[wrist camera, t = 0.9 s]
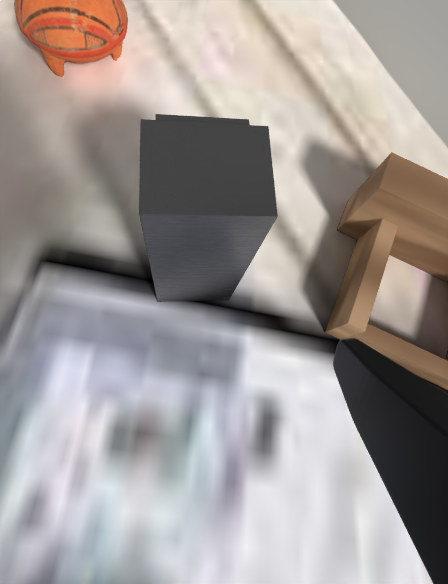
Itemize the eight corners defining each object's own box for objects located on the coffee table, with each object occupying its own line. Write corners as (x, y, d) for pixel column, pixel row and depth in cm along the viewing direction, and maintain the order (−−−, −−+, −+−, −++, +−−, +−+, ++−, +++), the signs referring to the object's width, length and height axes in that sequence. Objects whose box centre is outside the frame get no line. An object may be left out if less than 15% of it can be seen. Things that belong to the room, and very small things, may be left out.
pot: (8, 33, 28) (-16, -77, 22) (101, 31, 32) (102, -64, 26) (46, 104, 26) (31, 6, 21) (140, 94, 30) (150, 8, 24)
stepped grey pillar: (228, 300, 25) (277, 216, 13) (157, 301, 24) (139, 214, 12) (224, 233, 26) (265, 102, 14) (157, 233, 25) (141, 93, 13)
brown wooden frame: (477, 403, 25) (566, 407, 19) (302, 321, 25) (339, 301, 19) (501, 272, 28) (583, 243, 23) (348, 200, 28) (391, 152, 23)
